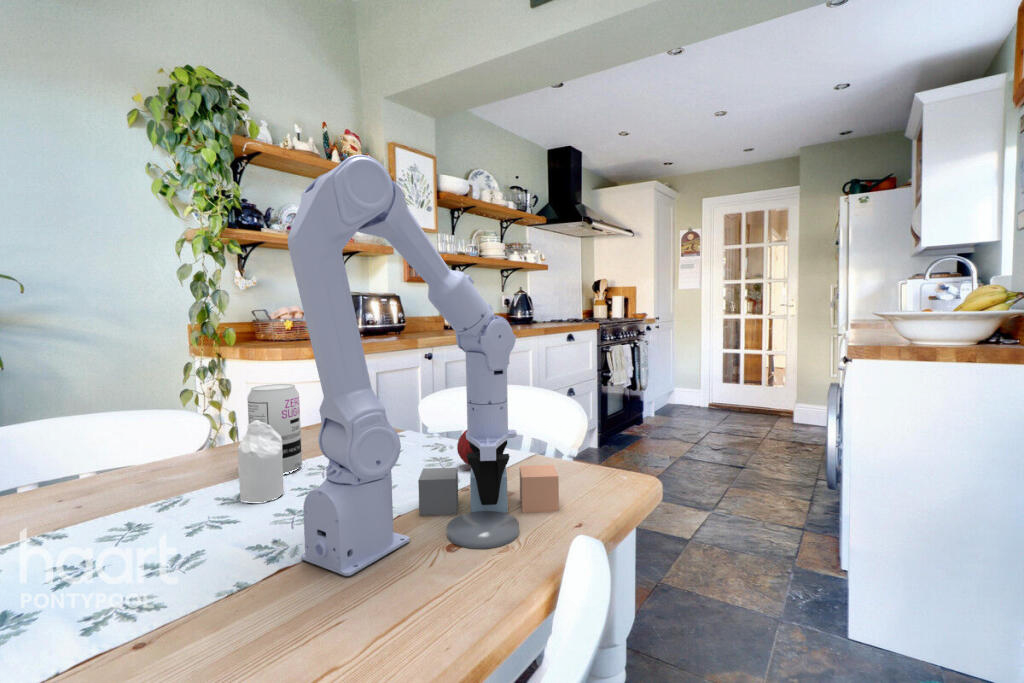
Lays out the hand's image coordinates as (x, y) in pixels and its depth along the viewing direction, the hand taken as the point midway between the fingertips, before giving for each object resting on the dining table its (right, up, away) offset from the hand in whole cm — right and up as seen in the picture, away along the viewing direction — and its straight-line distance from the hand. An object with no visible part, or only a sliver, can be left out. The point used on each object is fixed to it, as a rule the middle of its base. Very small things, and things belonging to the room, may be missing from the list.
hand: (489, 496), depth 70 cm
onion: (-3, -1, +18) cm, 18 cm away
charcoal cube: (-7, -2, 0) cm, 7 cm away
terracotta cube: (+7, -1, 0) cm, 7 cm away
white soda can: (-38, -1, +18) cm, 42 cm away
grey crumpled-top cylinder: (-35, -2, +5) cm, 35 cm away
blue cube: (0, -1, 0) cm, 1 cm away
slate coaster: (0, -2, -8) cm, 8 cm away
